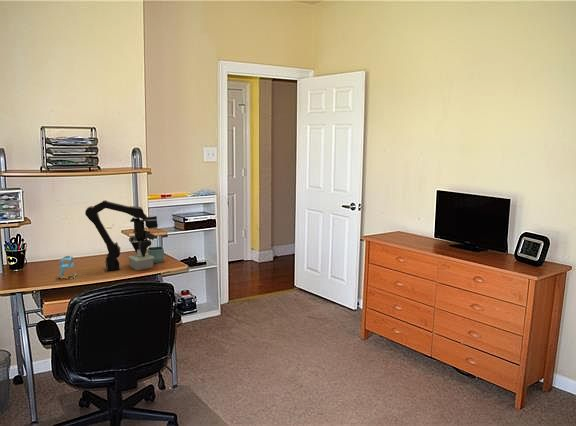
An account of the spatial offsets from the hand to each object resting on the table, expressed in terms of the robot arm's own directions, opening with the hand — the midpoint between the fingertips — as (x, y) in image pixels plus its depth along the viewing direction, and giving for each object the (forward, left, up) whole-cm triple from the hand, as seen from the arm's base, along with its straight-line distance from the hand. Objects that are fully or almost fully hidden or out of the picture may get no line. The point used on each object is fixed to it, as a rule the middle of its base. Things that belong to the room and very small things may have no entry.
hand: (140, 255), depth 299 cm
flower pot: (+12, +6, -8) cm, 15 cm away
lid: (0, 0, -2) cm, 2 cm away
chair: (-39, +8, -8) cm, 40 cm away
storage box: (0, 0, -8) cm, 8 cm away
